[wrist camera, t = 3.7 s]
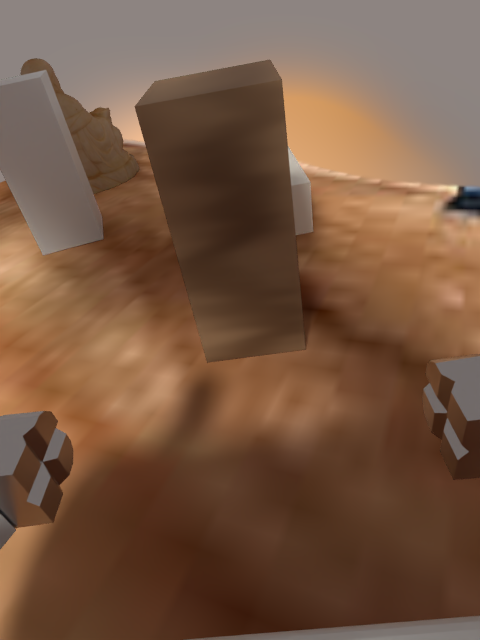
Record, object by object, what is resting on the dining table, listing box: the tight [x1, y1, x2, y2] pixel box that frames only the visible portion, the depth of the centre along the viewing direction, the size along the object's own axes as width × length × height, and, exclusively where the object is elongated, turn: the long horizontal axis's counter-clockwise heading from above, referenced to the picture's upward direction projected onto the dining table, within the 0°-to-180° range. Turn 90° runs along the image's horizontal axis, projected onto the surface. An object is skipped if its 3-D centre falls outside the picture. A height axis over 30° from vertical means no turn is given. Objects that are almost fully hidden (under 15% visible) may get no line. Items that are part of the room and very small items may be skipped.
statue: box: [21, 58, 139, 194], centre depth 45 cm, size 12×14×10 cm
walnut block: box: [135, 60, 306, 363], centre depth 20 cm, size 5×5×12 cm
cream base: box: [288, 147, 313, 235], centre depth 34 cm, size 9×9×4 cm
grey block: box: [0, 70, 104, 255], centre depth 34 cm, size 5×5×12 cm
